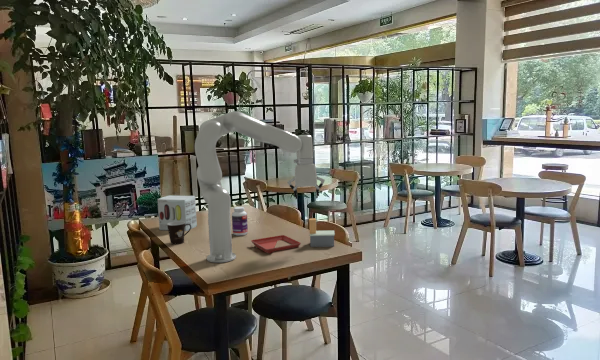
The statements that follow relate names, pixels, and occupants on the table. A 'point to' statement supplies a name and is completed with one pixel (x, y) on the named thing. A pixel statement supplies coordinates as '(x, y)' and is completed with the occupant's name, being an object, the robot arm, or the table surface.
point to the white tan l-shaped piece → (318, 233)
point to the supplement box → (177, 211)
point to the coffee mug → (177, 232)
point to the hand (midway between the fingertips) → (306, 198)
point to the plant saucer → (274, 243)
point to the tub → (321, 241)
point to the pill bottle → (239, 221)
